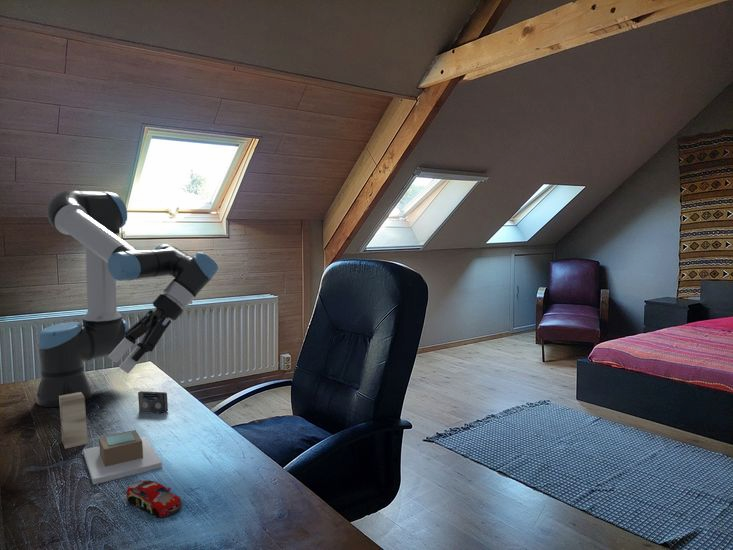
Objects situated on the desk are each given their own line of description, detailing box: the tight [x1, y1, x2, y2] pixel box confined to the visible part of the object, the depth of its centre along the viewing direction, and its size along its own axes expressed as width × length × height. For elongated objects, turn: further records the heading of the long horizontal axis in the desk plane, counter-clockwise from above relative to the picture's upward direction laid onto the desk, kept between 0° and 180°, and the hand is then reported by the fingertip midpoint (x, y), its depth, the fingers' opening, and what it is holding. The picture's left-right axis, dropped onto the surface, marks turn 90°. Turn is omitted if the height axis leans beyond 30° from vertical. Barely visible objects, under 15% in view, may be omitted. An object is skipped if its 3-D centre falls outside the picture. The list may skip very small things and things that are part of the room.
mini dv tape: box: [137, 390, 169, 414], centre depth 159 cm, size 8×2×6 cm, turn 80°
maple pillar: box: [59, 392, 89, 449], centre depth 137 cm, size 5×5×12 cm
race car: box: [126, 480, 182, 519], centre depth 107 cm, size 13×5×4 cm, turn 54°
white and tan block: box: [82, 429, 163, 485], centre depth 127 cm, size 18×14×5 cm
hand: (117, 365), depth 142 cm, fingers open, 13 cm apart
